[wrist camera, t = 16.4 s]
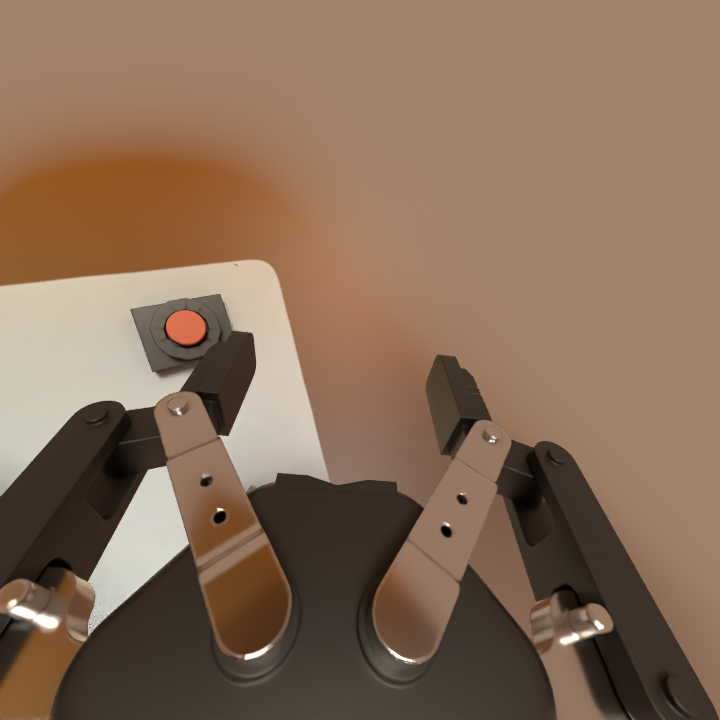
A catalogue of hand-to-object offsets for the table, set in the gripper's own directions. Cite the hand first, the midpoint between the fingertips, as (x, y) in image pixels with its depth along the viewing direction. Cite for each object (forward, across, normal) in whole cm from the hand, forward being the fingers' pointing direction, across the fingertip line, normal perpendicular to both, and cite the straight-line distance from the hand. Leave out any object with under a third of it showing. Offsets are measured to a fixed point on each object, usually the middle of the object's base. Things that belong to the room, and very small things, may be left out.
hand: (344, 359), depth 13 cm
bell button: (+17, +17, +12) cm, 27 cm away
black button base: (+19, +18, +14) cm, 30 cm away
